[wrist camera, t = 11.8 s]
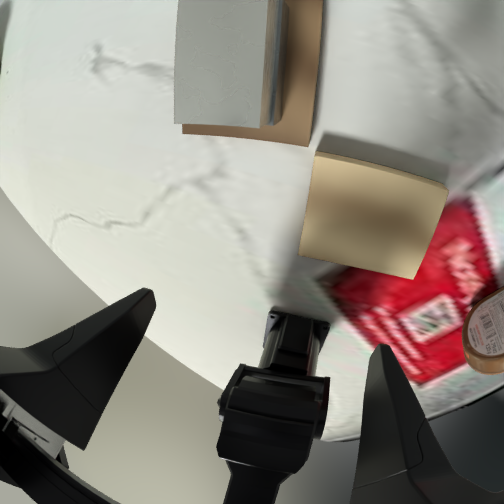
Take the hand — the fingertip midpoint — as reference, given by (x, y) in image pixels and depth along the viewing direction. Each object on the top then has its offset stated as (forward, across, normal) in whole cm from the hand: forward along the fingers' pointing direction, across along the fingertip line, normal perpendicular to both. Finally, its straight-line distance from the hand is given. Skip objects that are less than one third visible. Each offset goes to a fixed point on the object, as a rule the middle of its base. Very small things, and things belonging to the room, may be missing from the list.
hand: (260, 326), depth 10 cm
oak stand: (+13, -6, 0) cm, 14 cm away
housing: (+11, +4, -10) cm, 15 cm away
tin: (+13, -24, +4) cm, 28 cm away
